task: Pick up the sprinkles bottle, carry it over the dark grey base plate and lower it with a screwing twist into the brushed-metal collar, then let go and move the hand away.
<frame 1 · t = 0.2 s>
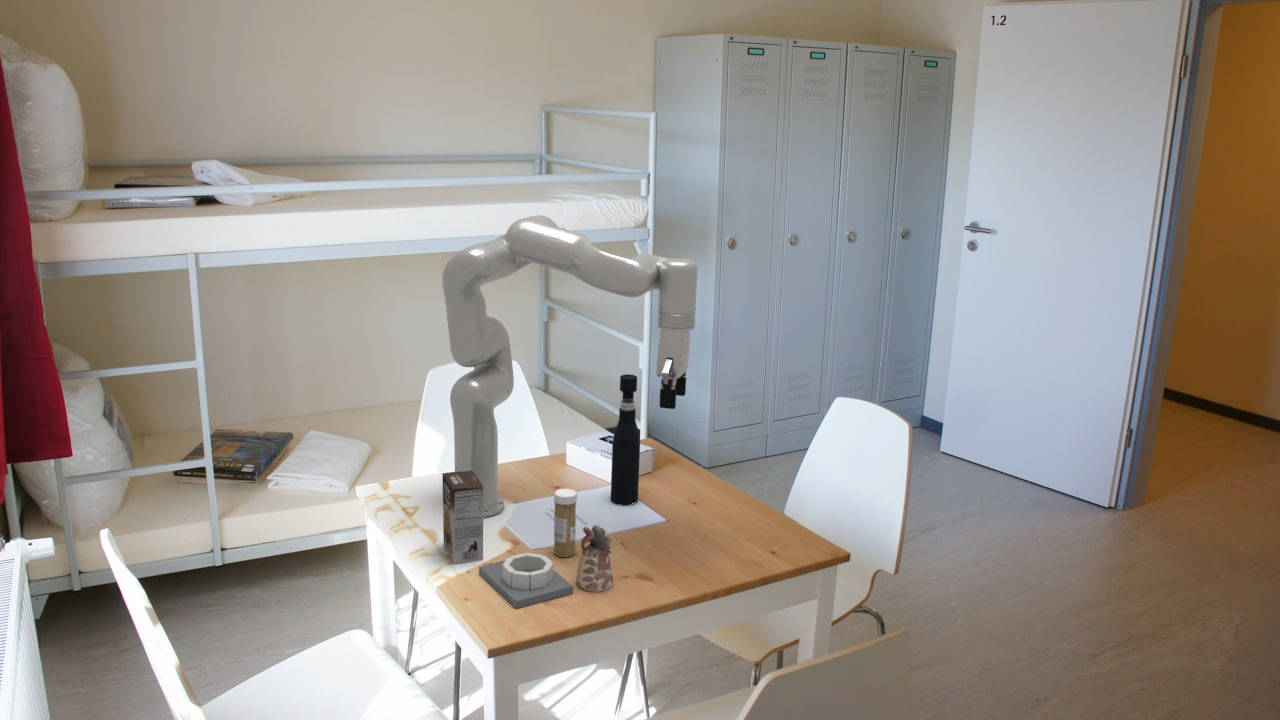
hand: (672, 401, 207), 31 cm above the table, tool pointing down, fingers open, 9 cm apart
figurine: (594, 584, 194), on the table
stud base: (527, 585, 192), on the table
wine bottle: (624, 501, 235), on the table
sprinkles bottle: (564, 554, 206), on the table
coffee box: (462, 553, 204), on the table
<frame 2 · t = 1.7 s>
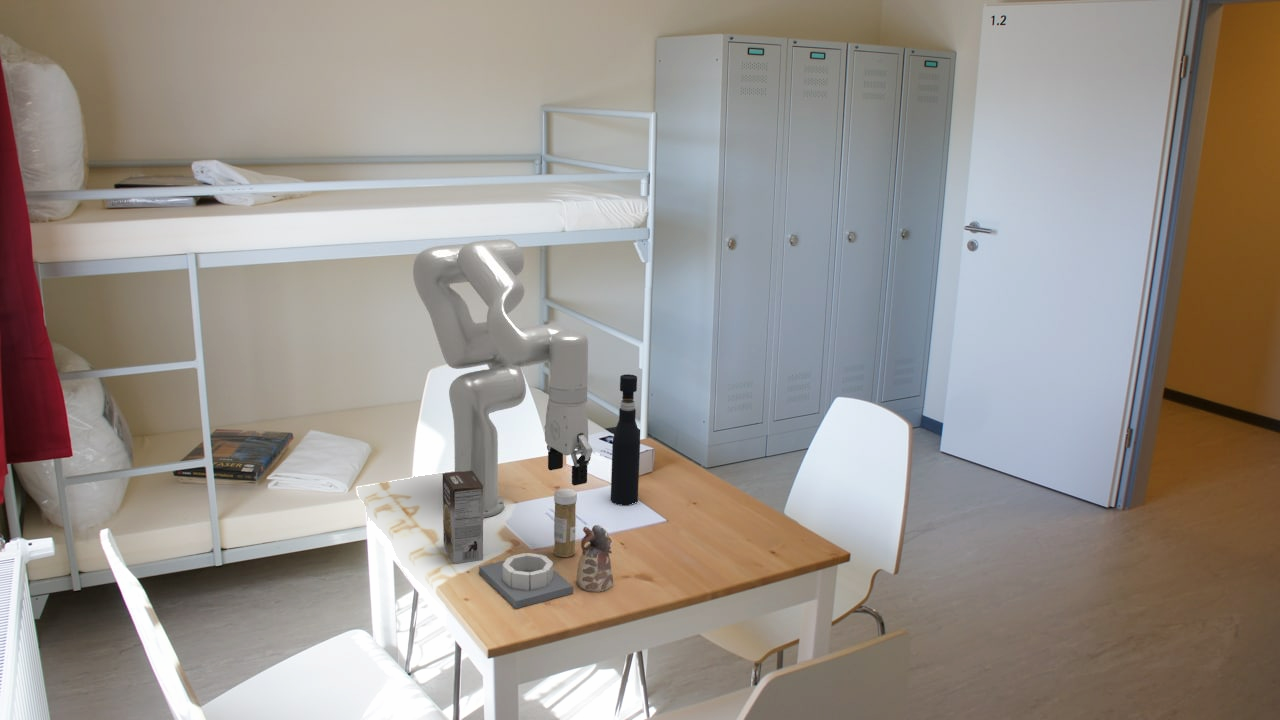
hand: (567, 476, 202), 17 cm above the table, tool pointing down, fingers open, 9 cm apart
nothing on the table moved.
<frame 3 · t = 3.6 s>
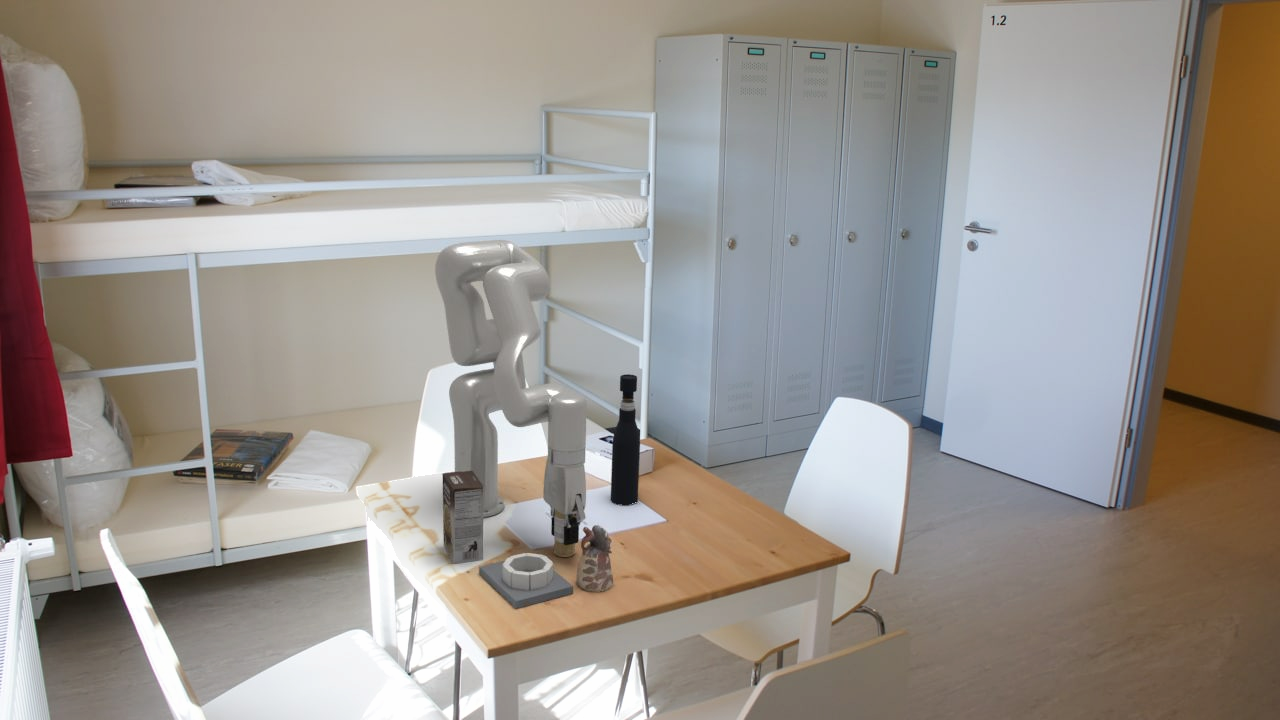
hand: (564, 538, 205), 3 cm above the table, tool pointing down, fingers closed on sprinkles bottle, 4 cm apart
sprinkles bottle: (564, 554, 206), on the table, touching gripper
everything else where it was.
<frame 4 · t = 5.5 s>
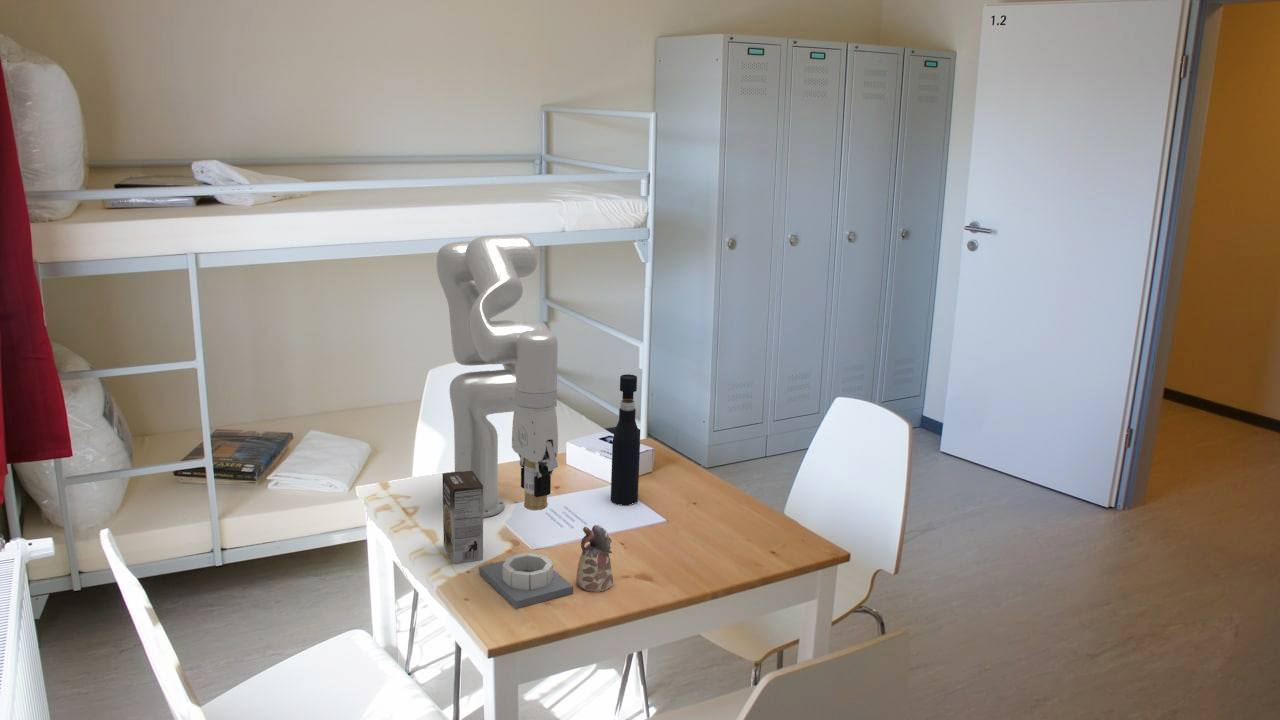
hand: (535, 490, 189), 19 cm above the table, tool pointing down, fingers closed on sprinkles bottle, 4 cm apart
sprinkles bottle: (535, 507, 190), point 15 cm above the table, touching gripper
everything else where it was.
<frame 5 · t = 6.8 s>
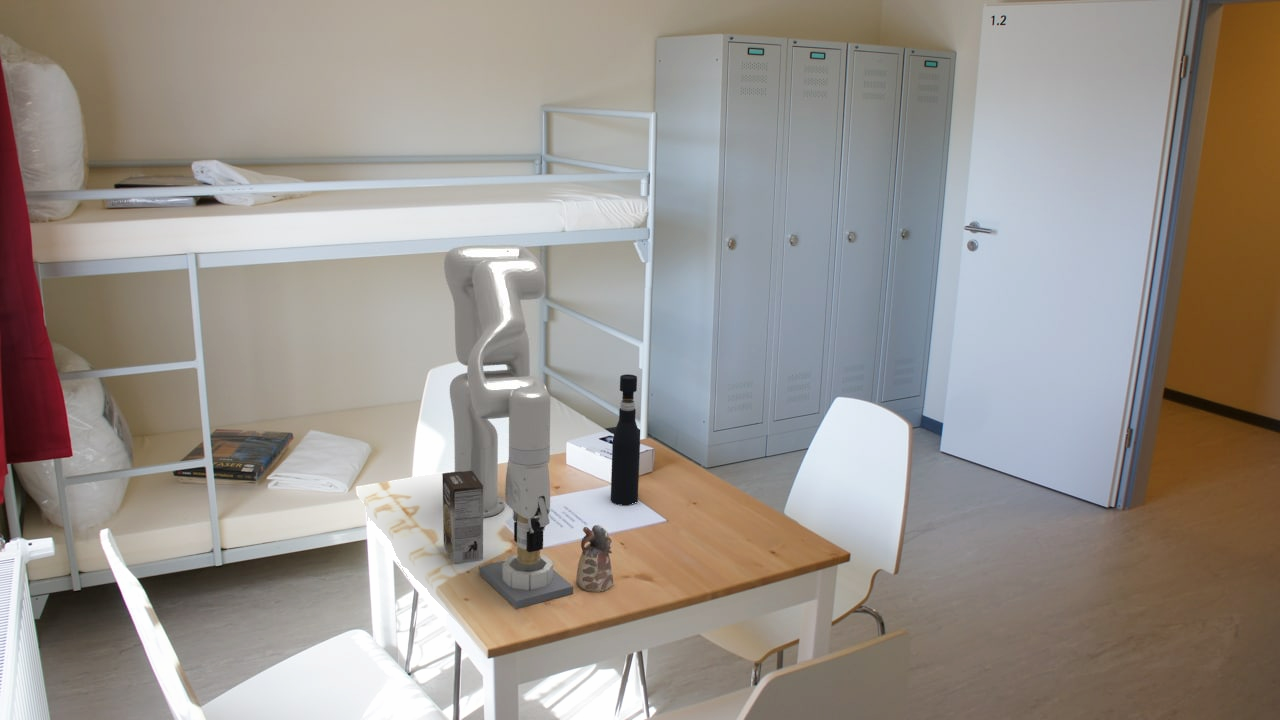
hand: (528, 544, 189), 9 cm above the table, tool pointing down, fingers closed on sprinkles bottle, 4 cm apart
sprinkles bottle: (528, 561, 190), point 5 cm above the table, touching gripper
everything else where it was.
when the fingers open (5 cm above the table, at t = 7.8 s): sprinkles bottle stays where it is, resting on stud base.
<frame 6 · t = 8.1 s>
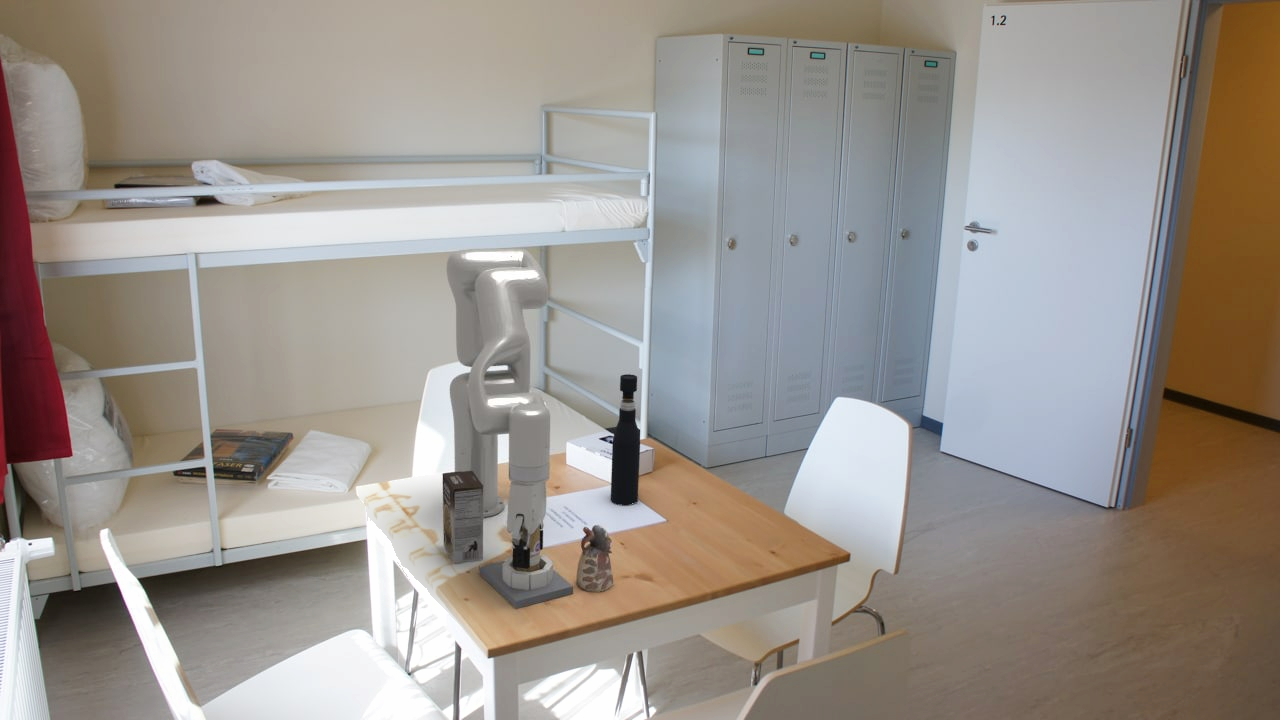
hand: (528, 557, 190), 6 cm above the table, tool pointing down, fingers open, 7 cm apart
sprinkles bottle: (528, 578, 192), point 1 cm above the table, touching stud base
everything else where it was.
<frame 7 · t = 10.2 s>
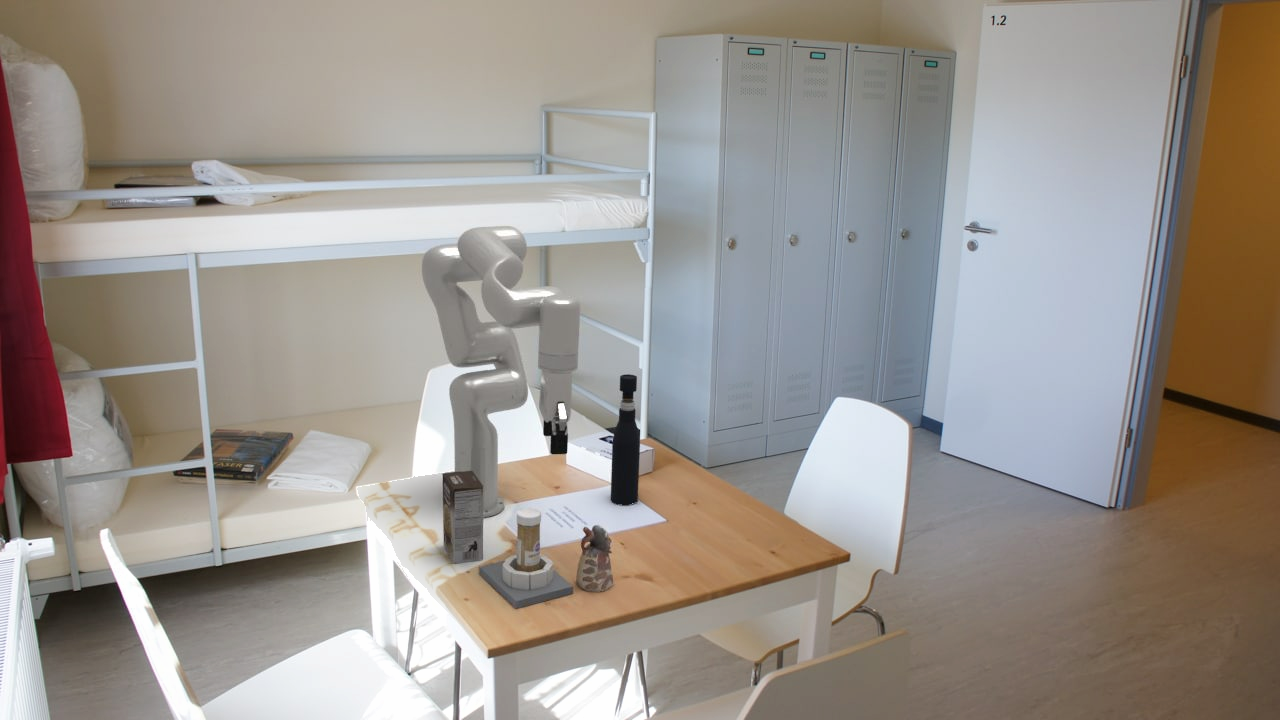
hand: (554, 444, 195), 25 cm above the table, tool pointing down, fingers open, 9 cm apart
nothing on the table moved.
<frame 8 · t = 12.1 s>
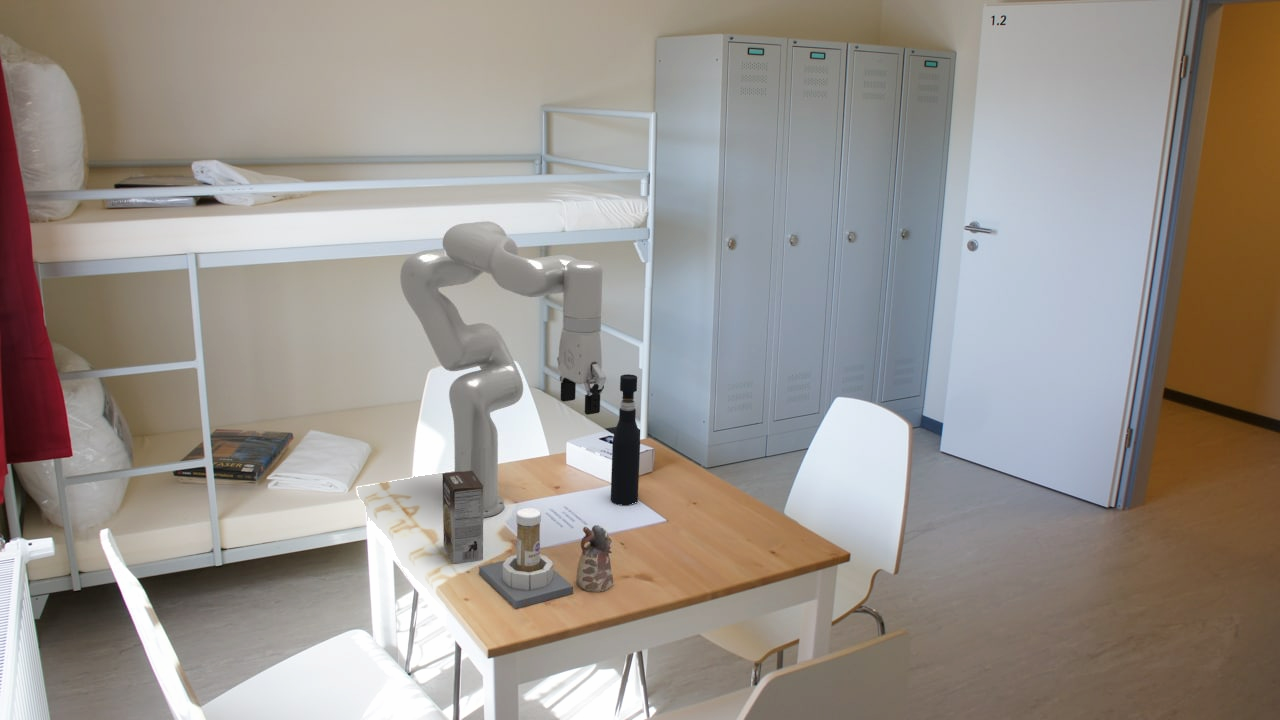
hand: (579, 406, 202), 30 cm above the table, tool pointing down, fingers open, 9 cm apart
nothing on the table moved.
at the end: sprinkles bottle 0.4 cm from the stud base (horizontally); sprinkles bottle tilted 0°; the gripper is holding nothing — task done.
